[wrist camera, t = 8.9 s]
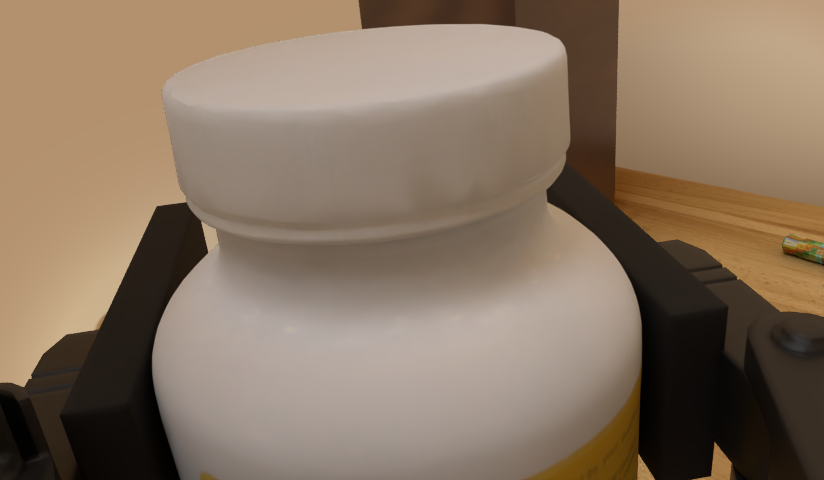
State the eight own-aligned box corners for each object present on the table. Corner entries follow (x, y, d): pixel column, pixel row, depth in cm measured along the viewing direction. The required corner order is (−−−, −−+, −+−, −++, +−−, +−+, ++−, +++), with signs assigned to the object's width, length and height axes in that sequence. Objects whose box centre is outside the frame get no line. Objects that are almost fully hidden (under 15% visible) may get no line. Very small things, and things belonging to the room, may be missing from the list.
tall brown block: (367, 244, 54) (314, -166, 43) (481, 184, 63) (460, -166, 52) (528, 292, 45) (513, -209, 34) (633, 214, 54) (647, -200, 43)
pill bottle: (707, 830, 11) (813, 62, 6) (284, 1004, 10) (5, 197, 5) (530, 522, 17) (515, -3, 12) (249, 604, 15) (105, 52, 11)
